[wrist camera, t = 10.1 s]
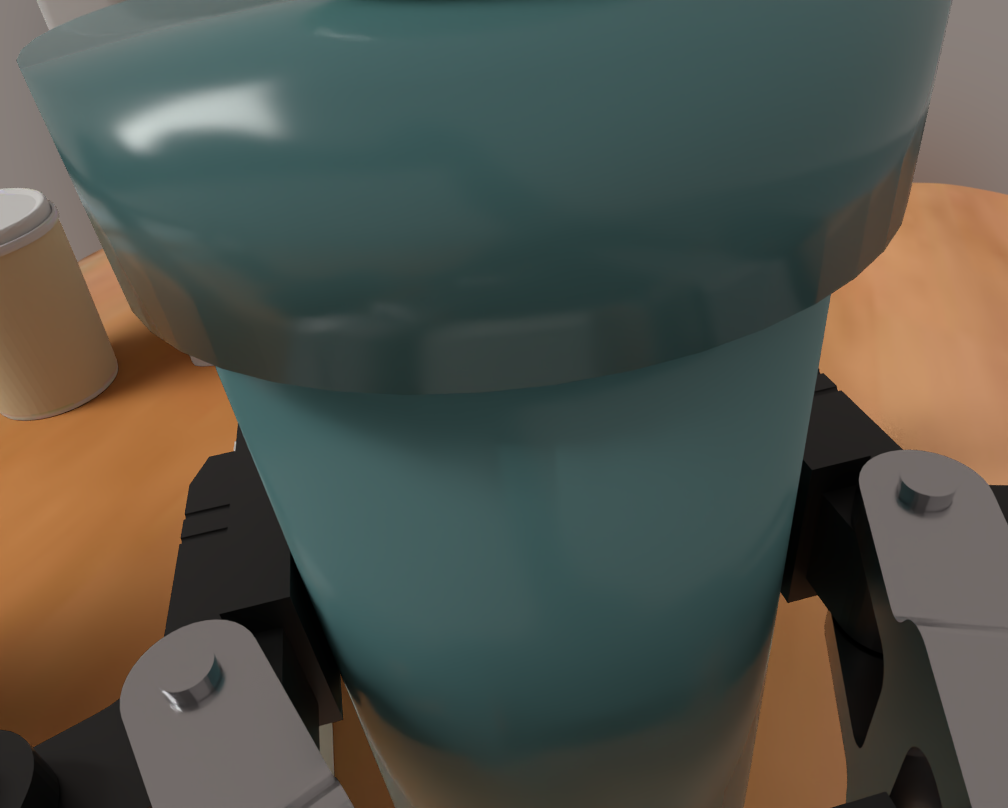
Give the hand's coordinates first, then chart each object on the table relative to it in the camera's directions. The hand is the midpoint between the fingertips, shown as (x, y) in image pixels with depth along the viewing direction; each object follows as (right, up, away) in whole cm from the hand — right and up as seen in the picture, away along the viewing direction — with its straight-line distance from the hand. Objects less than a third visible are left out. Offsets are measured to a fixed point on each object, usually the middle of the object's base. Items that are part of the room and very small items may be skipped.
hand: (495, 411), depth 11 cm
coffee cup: (-30, +1, +40) cm, 50 cm away
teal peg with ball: (+1, -8, +3) cm, 8 cm away
